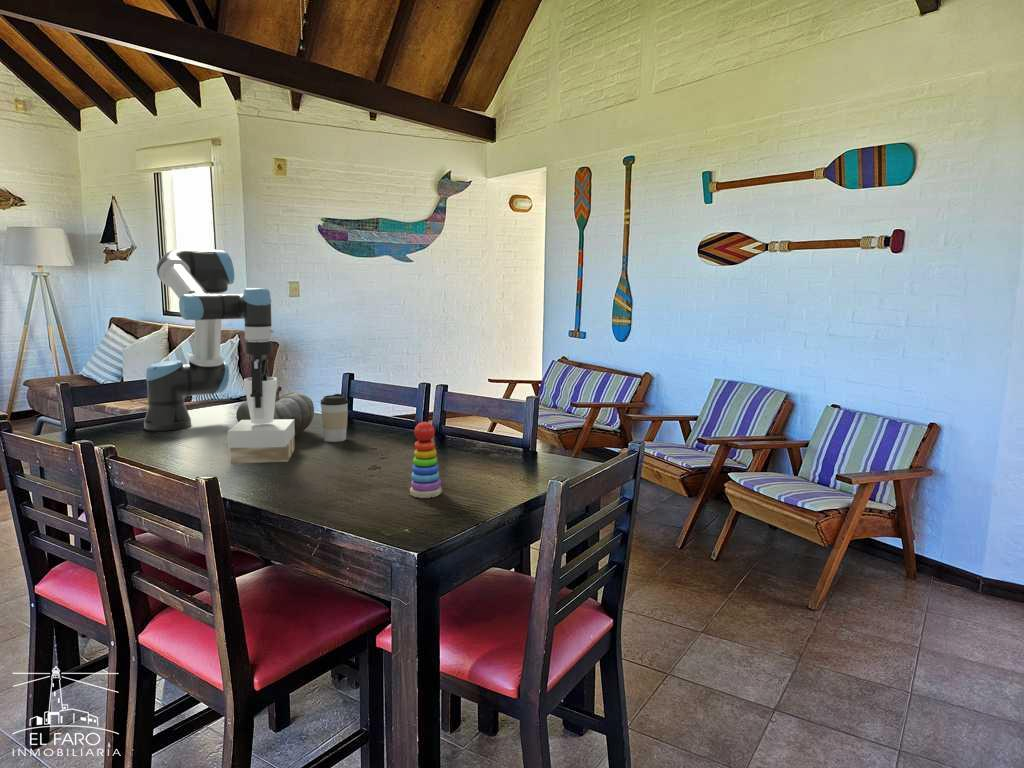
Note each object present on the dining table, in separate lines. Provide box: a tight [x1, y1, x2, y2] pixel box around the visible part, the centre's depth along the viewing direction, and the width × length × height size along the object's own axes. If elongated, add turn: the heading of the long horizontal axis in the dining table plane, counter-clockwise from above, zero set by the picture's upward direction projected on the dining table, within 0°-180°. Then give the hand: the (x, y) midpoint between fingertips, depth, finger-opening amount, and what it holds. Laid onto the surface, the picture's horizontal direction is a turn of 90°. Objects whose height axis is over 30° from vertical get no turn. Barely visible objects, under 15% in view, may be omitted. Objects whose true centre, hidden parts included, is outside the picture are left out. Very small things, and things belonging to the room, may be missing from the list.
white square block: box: [226, 419, 295, 449], centre depth 208 cm, size 16×16×5 cm
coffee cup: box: [319, 393, 349, 443], centre depth 230 cm, size 9×9×15 cm
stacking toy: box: [409, 421, 443, 499], centre depth 172 cm, size 8×8×19 cm
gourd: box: [235, 385, 315, 437], centre depth 234 cm, size 25×25×17 cm
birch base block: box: [229, 436, 296, 465], centre depth 209 cm, size 16×16×5 cm
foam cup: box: [243, 376, 278, 424], centre depth 206 cm, size 10×9×13 cm
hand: (262, 414), depth 207 cm, fingers closed on foam cup, 9 cm apart
